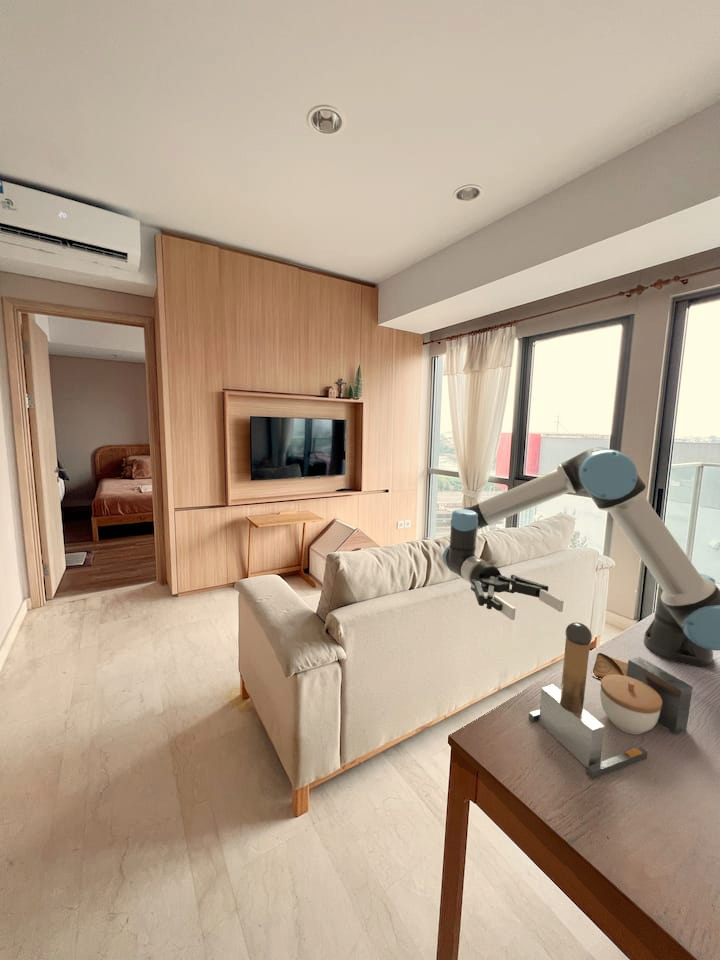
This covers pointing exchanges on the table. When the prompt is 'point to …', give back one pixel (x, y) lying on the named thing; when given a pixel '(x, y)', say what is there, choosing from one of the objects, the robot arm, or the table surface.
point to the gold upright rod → (573, 702)
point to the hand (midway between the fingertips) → (538, 610)
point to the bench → (671, 716)
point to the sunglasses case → (609, 666)
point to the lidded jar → (630, 703)
